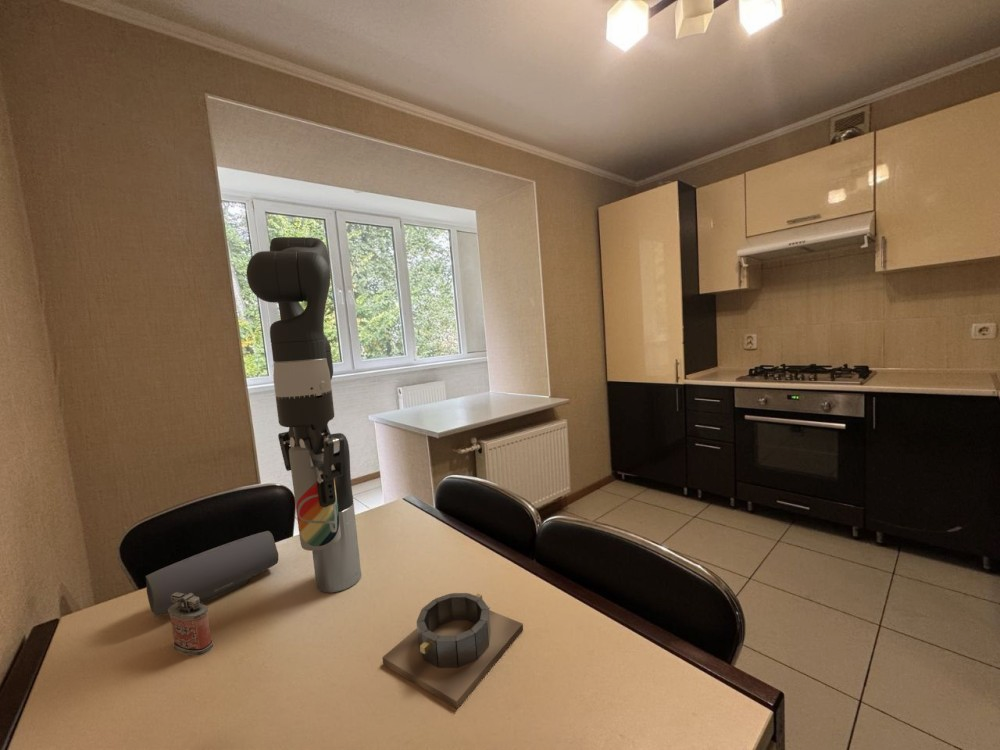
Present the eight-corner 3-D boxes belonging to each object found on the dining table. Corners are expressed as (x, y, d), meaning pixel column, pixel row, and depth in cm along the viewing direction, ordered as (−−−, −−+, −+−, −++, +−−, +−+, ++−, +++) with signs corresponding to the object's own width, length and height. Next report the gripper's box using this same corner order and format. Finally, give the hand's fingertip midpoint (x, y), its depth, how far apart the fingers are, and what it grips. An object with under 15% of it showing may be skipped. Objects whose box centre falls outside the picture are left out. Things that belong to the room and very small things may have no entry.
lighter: (218, 644, 75) (210, 592, 74) (199, 658, 72) (191, 604, 71) (187, 636, 78) (180, 586, 77) (168, 649, 74) (160, 597, 74)
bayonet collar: (398, 655, 68) (395, 630, 67) (457, 603, 80) (455, 582, 79) (453, 686, 61) (450, 658, 60) (508, 625, 73) (506, 601, 72)
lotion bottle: (326, 552, 60) (310, 416, 58) (292, 551, 61) (275, 417, 59) (348, 533, 65) (334, 408, 63) (316, 532, 66) (301, 410, 64)
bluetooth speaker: (266, 562, 103) (261, 524, 102) (281, 574, 97) (276, 534, 96) (149, 612, 86) (142, 566, 85) (158, 630, 80) (150, 582, 79)
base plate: (383, 664, 68) (382, 656, 67) (456, 600, 83) (456, 593, 83) (457, 709, 58) (456, 699, 58) (524, 627, 74) (524, 620, 74)
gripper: (253, 393, 62) (267, 502, 63) (306, 396, 53) (321, 521, 55) (301, 386, 68) (313, 485, 69) (356, 387, 60) (367, 500, 61)
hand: (316, 501), depth 62 cm, fingers closed on lotion bottle, 5 cm apart
